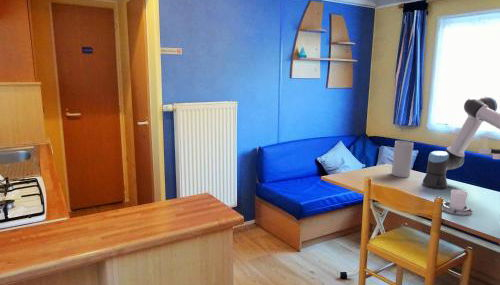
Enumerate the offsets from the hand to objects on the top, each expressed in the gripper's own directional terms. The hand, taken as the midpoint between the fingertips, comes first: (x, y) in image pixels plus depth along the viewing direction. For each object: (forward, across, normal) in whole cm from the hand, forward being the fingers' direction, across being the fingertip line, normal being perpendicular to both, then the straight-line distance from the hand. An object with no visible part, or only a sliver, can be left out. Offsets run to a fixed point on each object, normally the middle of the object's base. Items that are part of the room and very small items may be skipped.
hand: (485, 153), depth 201 cm
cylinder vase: (+23, +60, -32) cm, 72 cm away
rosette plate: (+16, -7, -32) cm, 36 cm away
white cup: (+16, -8, -31) cm, 35 cm away
